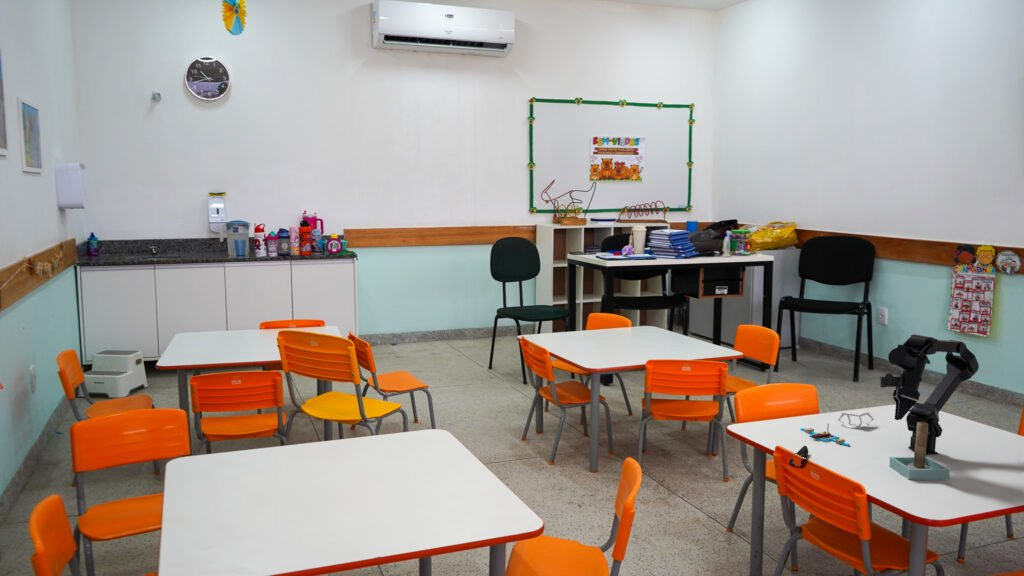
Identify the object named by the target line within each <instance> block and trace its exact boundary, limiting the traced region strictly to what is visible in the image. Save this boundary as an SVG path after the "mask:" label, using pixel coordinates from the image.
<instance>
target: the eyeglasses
mask: <svg viewBox="0 0 1024 576" xmlns="http://www.w3.org/2000/svg"><path fill="white" fill-rule="evenodd" d="M844 416H846V417H847V419H848V425H849V424H850V425H851V423H852V421H851V418H850V417H857V418H858V420H859V424H858V429H859V430H861V428H862V427H861V426H862V424H863V420H862V417H863V416H868V417H869V419H870V420H868V422H866V425H867V426H868V425H870V424H869V423H871V422H873V421H874V420H875V419H874V417H873V416H872V415H871V414H870V412H867V411H854V410H849V411H845V412H842V413H841V415H840V416H839V418H838V419H837V421H839V422H840V423H842V424H841V426H843V425H844V424H845V423H844V422H843V421H842V420H841V419H842V418H843V417H844Z"/></svg>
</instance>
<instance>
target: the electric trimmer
mask: <svg viewBox="0 0 1024 576" xmlns="http://www.w3.org/2000/svg"><path fill="white" fill-rule="evenodd" d="M795 454H797V455H799V456H801V457H804V458H806V459H807V458H808V455H809V449H808V446H807V445H803V446H801V448H800V449H798V451H796V453H795ZM788 465H789V466H791V467H795V468H797V467H796V466H795V464H794V461H793V459H791V458H790V459H789V464H788Z"/></svg>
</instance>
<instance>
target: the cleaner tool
mask: <svg viewBox="0 0 1024 576" xmlns="http://www.w3.org/2000/svg"><path fill="white" fill-rule="evenodd" d="M927 435H928V423H925V422H917V430H916V441H915V452H914V456H913V457H914V463H909V464H908V467H909V468H911V469H930V467H929V466H927V465H925V458H926V457H927V454H926V447H927Z"/></svg>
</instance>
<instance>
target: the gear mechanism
mask: <svg viewBox="0 0 1024 576" xmlns="http://www.w3.org/2000/svg"><path fill="white" fill-rule="evenodd" d="M829 425H830V423H827V425H826V427H827V429H826V430H825V431H822V432H821V431H820V432H816V431H815V428H812V427H810V428H803V427H802V428H801V427H800V431H802V432H804V433H805V434H809V438H811V439H814V440H817V441H820V442H823V443H829V442H834V443H835V444H836V445H842V446H845V447H851V444H850V443H847V442H846V440H845V439H844V438H840V436H838V435H834V434H831V432H830V431H829V429H830V428H829V427H830V426H829Z"/></svg>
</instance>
